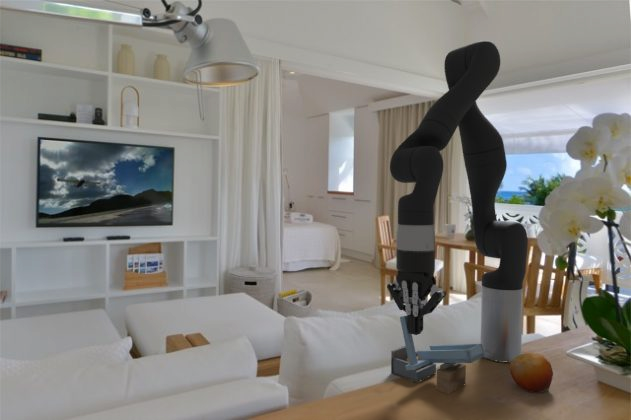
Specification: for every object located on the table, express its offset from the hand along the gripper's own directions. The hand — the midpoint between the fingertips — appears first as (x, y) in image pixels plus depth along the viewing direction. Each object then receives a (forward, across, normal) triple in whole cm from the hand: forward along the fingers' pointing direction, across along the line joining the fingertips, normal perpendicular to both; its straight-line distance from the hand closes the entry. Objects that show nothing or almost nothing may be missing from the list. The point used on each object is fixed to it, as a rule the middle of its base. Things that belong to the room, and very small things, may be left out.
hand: (415, 333), depth 88 cm
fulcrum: (+12, -4, -7) cm, 14 cm away
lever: (+6, -4, -4) cm, 8 cm away
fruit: (+12, -15, -19) cm, 27 cm away
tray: (+11, +5, -7) cm, 14 cm away
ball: (+9, +5, -7) cm, 13 cm away
